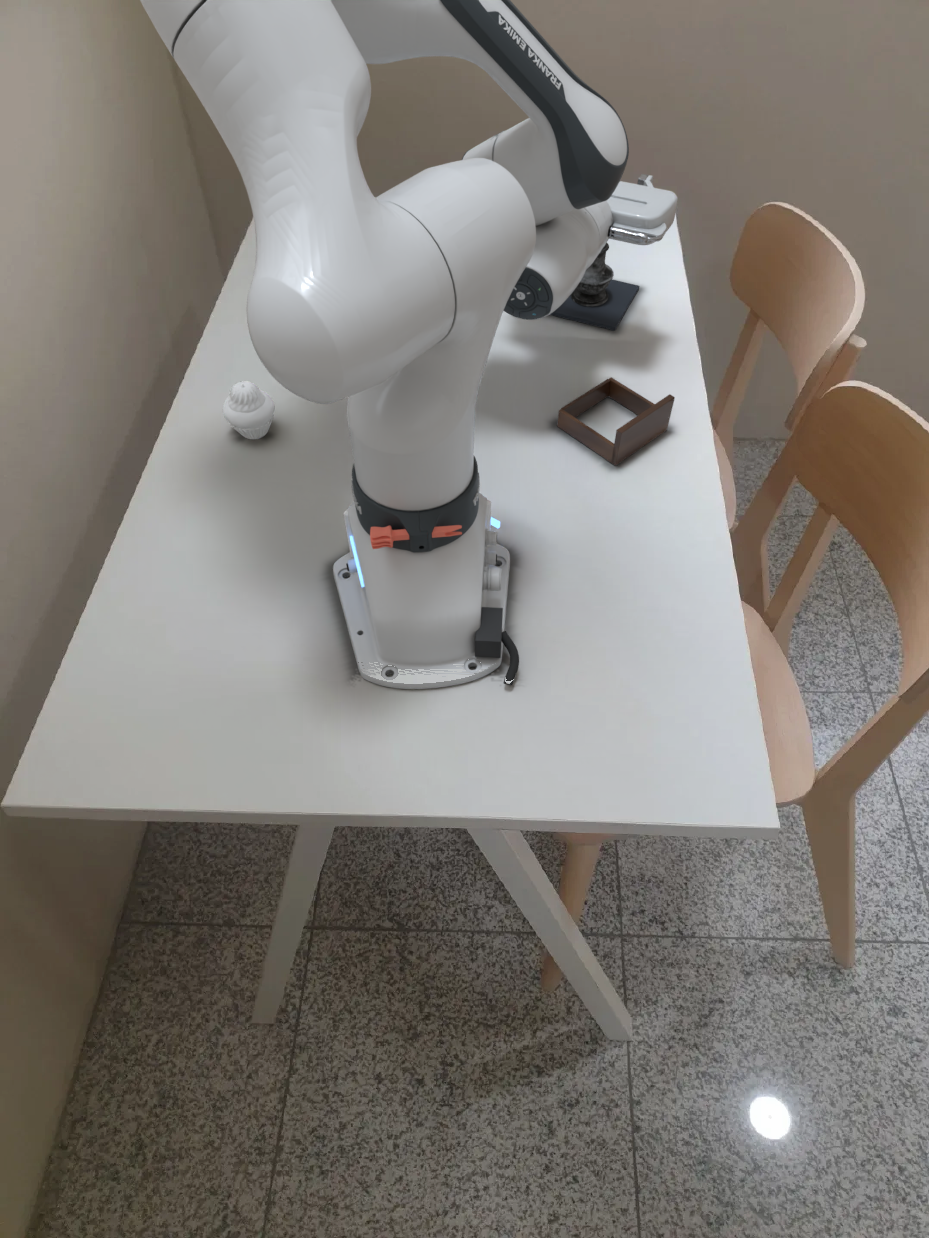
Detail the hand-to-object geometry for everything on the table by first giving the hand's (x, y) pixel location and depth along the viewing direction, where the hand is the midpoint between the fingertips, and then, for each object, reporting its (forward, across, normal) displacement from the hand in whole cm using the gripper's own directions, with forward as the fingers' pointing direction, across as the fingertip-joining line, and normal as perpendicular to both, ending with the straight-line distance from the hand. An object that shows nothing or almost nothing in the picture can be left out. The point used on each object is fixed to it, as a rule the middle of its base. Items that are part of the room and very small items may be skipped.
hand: (610, 173), depth 105 cm
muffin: (-44, +29, +17) cm, 55 cm away
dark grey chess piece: (-1, +1, +17) cm, 17 cm away
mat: (-1, 0, +17) cm, 17 cm away
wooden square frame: (-25, -11, +18) cm, 33 cm away
